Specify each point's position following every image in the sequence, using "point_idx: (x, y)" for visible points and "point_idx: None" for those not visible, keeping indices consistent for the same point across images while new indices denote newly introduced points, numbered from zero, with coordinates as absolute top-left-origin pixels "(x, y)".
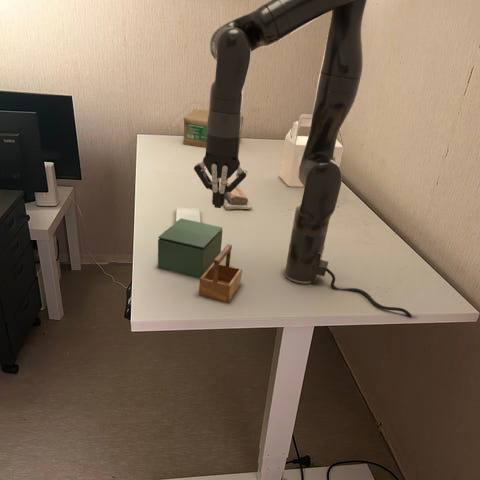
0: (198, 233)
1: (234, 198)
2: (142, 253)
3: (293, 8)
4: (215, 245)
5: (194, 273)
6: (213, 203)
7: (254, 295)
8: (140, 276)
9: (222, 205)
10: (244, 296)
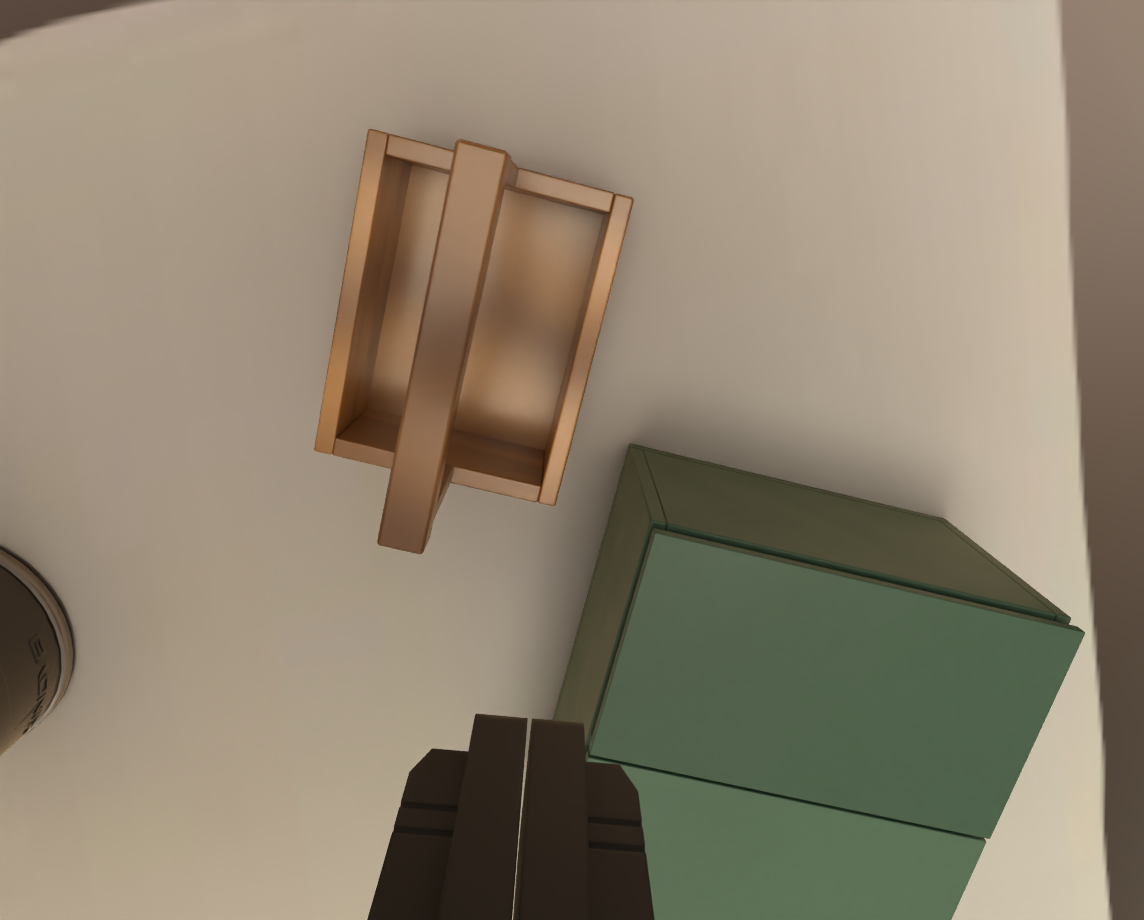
0: (729, 791)
1: None
2: (1068, 689)
3: None
4: None
5: (688, 464)
6: (608, 778)
7: (234, 300)
8: (1056, 376)
9: (431, 756)
10: (301, 269)
